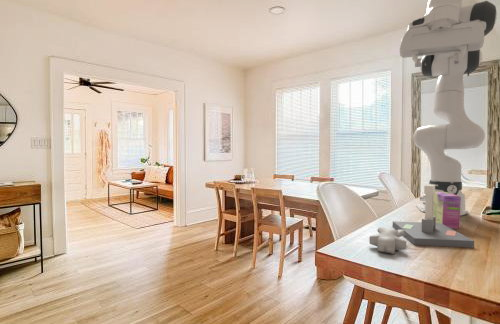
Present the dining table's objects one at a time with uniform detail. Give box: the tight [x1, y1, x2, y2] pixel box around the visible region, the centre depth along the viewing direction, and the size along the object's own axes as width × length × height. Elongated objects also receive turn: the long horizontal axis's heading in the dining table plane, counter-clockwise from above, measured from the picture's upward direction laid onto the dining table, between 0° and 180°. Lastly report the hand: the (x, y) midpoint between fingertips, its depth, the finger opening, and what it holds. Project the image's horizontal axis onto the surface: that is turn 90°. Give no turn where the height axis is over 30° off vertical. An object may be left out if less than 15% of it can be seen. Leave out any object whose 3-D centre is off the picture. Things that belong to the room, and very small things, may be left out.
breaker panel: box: [392, 216, 475, 249], centre depth 94 cm, size 20×16×6 cm
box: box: [433, 191, 461, 230], centre depth 108 cm, size 10×6×12 cm, turn 168°
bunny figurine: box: [369, 226, 407, 255], centre depth 84 cm, size 10×5×15 cm
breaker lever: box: [423, 183, 435, 227], centre depth 94 cm, size 3×4×14 cm
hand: (436, 64), depth 81 cm, fingers open, 8 cm apart
